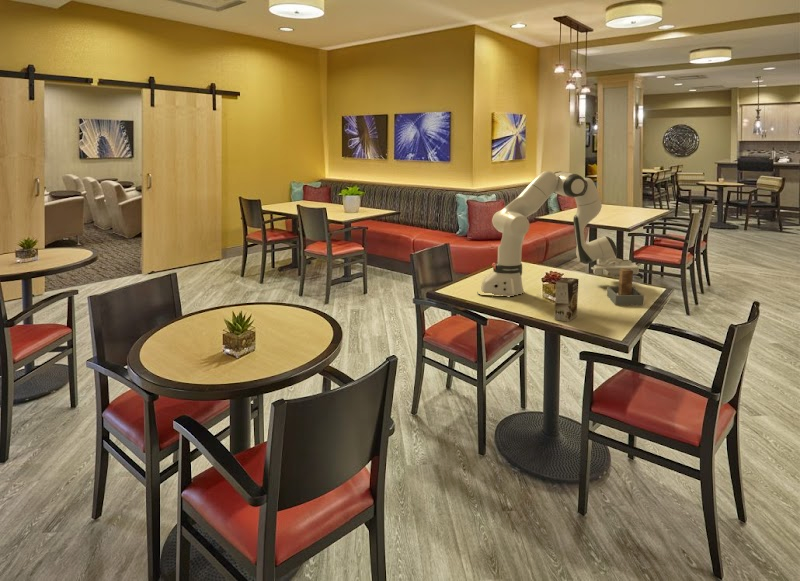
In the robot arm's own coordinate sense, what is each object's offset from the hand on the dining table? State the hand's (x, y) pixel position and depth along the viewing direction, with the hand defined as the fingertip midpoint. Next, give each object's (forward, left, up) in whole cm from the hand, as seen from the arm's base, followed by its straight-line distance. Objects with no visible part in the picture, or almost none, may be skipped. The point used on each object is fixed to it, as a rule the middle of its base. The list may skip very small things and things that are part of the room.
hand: (619, 273), depth 260 cm
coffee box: (-30, -37, -10) cm, 49 cm away
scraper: (0, -11, -9) cm, 14 cm away
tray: (0, -11, -10) cm, 15 cm away
